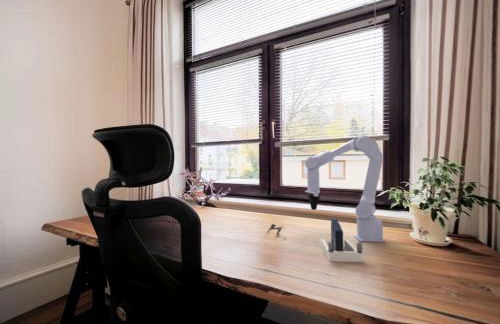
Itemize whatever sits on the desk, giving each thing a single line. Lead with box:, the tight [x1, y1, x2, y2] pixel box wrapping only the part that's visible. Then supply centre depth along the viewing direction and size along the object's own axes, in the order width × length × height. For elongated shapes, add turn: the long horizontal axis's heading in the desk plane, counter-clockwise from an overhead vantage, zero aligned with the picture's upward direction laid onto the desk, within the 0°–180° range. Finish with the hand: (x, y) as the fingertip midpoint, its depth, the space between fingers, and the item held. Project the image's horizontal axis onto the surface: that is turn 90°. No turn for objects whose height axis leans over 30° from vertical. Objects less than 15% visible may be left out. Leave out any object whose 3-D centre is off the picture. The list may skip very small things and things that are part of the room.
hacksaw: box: [266, 223, 287, 241], centre depth 111 cm, size 24×10×2 cm, turn 164°
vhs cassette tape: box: [330, 218, 344, 251], centre depth 86 cm, size 18×3×10 cm, turn 164°
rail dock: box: [320, 239, 363, 263], centre depth 83 cm, size 11×15×6 cm
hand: (313, 209), depth 113 cm, fingers closed
